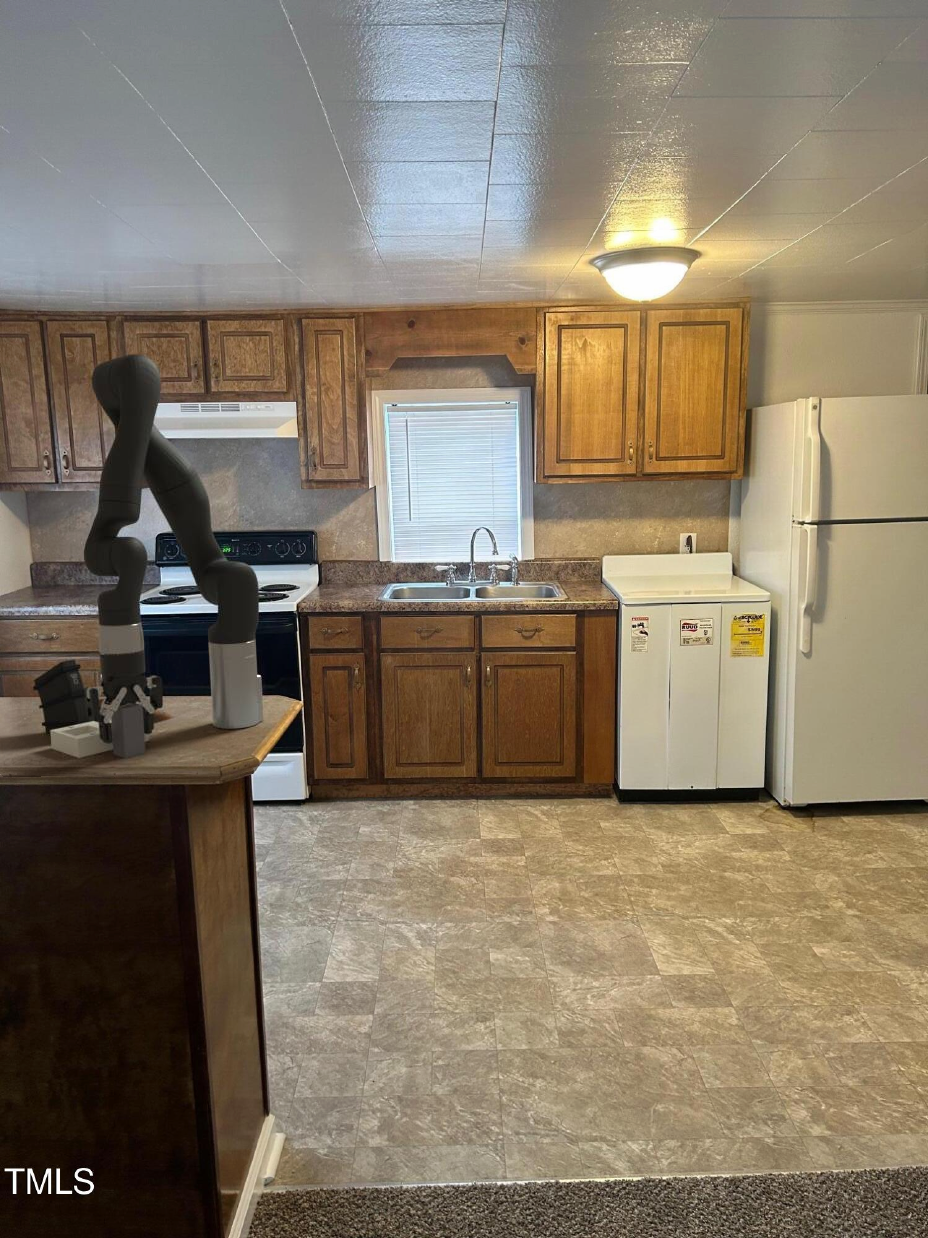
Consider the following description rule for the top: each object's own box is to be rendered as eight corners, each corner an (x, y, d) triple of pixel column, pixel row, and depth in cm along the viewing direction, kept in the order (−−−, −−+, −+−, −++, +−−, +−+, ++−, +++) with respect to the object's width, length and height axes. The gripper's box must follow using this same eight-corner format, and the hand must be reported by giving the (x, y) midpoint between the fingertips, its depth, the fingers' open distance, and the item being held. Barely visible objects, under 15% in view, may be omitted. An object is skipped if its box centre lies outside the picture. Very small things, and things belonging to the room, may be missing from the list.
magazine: (87, 734, 171) (60, 661, 173) (51, 754, 179) (26, 684, 180) (104, 730, 175) (77, 658, 176) (68, 750, 182) (43, 681, 183)
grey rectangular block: (133, 749, 167) (130, 701, 166) (145, 753, 164) (142, 704, 163) (113, 754, 164) (110, 705, 163) (125, 758, 161) (121, 708, 160)
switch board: (121, 732, 179) (119, 714, 178) (149, 740, 173) (147, 722, 172) (51, 748, 168) (50, 729, 168) (78, 758, 162) (77, 738, 161)
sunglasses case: (178, 716, 191) (163, 693, 187) (156, 740, 186) (140, 716, 182) (123, 707, 200) (108, 685, 196) (100, 729, 196) (84, 706, 192)
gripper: (146, 641, 169) (151, 726, 171) (72, 652, 158) (79, 743, 161) (169, 645, 164) (174, 733, 167) (94, 656, 154) (101, 750, 156)
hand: (127, 737), depth 164 cm, fingers open, 7 cm apart
